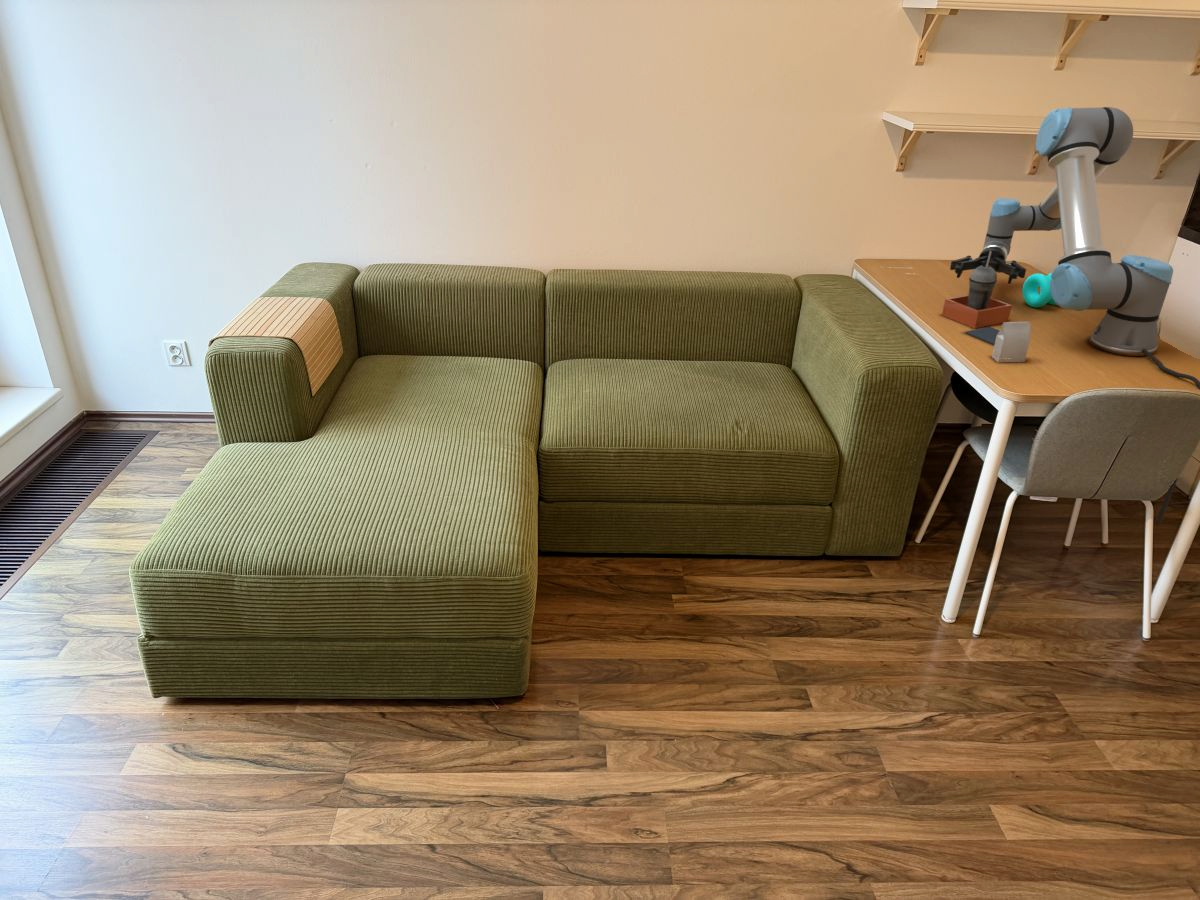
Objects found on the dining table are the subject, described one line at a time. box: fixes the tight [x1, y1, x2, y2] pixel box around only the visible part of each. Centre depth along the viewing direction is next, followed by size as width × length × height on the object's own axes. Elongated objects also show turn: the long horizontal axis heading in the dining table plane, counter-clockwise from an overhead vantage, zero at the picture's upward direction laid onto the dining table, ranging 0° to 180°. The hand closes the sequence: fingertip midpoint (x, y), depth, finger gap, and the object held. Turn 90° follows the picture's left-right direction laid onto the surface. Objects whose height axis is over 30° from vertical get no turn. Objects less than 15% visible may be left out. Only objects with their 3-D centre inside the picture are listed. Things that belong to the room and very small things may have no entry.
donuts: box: [1021, 272, 1058, 308], centre depth 239 cm, size 10×10×10 cm
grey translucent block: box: [991, 321, 1032, 363], centre depth 203 cm, size 4×7×10 cm, turn 91°
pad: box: [965, 326, 1000, 346], centre depth 219 cm, size 10×9×1 cm
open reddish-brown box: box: [941, 294, 1013, 329], centre depth 231 cm, size 13×13×5 cm
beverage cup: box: [967, 251, 998, 310], centre depth 228 cm, size 7×7×20 cm
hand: (984, 276), depth 229 cm, fingers open, 13 cm apart
